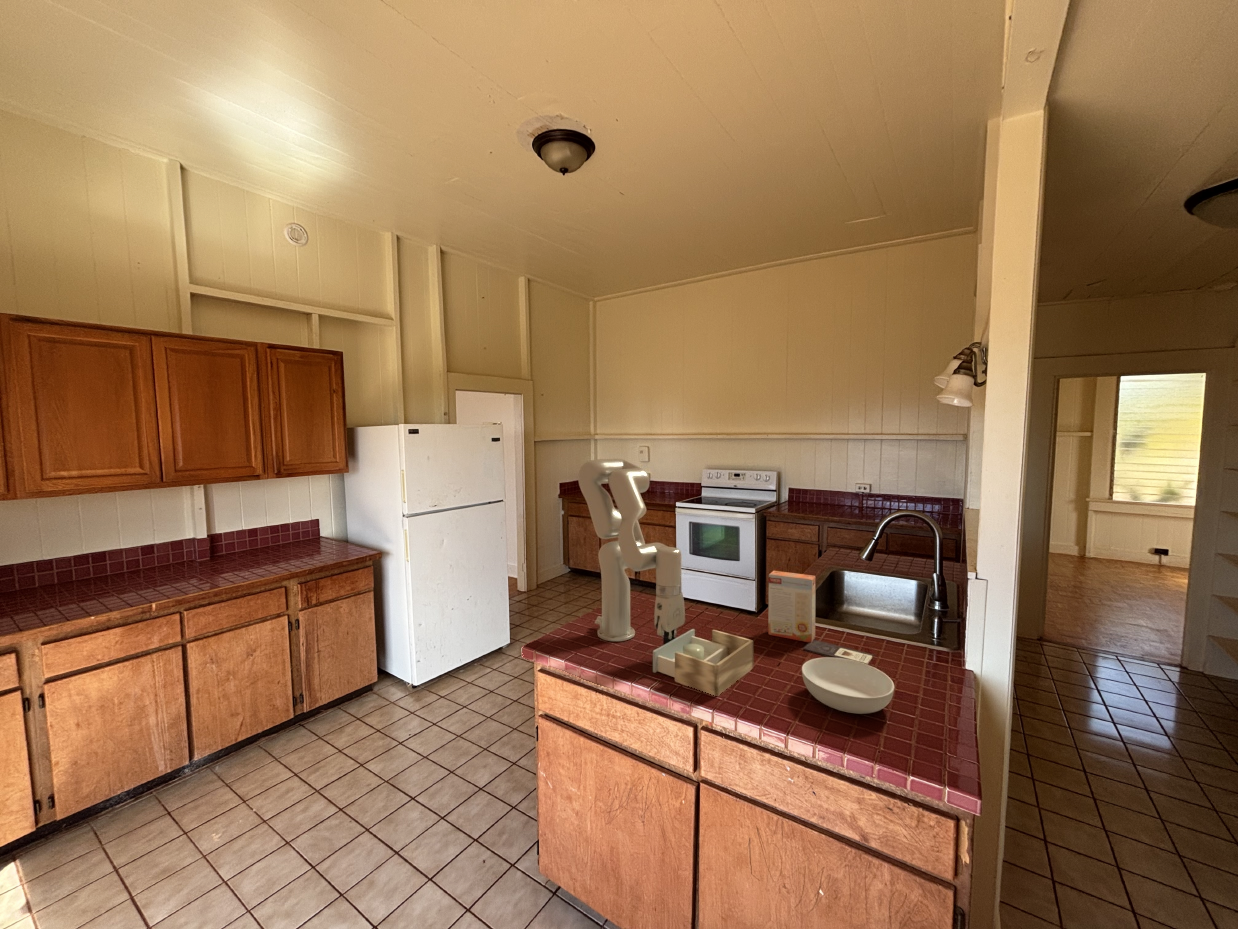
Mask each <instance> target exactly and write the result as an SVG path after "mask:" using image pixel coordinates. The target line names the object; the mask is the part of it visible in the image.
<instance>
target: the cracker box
mask: <svg viewBox="0 0 1238 929" xmlns="http://www.w3.org/2000/svg"><path fill="white" fill-rule="evenodd" d="M767 620H768V628H767V629H768V635H770V636H775V637H779V638H785V639H790V640H794V641H799V642H805V643H809V642H812V641H813V639H814V640H815V638H816V575H812V574H811V575H810V574H802V573H796V572H788V571H787V572H786V571H780V570H772V571H771V572H770V573H768V619H767Z"/></svg>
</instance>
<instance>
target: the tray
mask: <svg viewBox="0 0 1238 929" xmlns="http://www.w3.org/2000/svg"><path fill="white" fill-rule="evenodd" d="M695 633H696V629H695V628H692V629H690V630H688V631H686V632H685V633H683V634H681V635H679V636H676V637H675V639H674V640H672V641H670V642H668V643H666V644H665V645H663V644H662V645H661V646H659V647H657V648H656V649H653V650H652V673H657V672H658V673H661V674H664V675H667V676H670V677H673V678H675V652H679V653H682V654H683V646H684V645H686V644H698V645H701V646H703V647H704V661H707V662H710V663H713V664H717V663H719V662H720V661H722V660H723V659H724V658H726V657H727V656H728V646H725V645H722V644H718V643H715V642H712V640H711V641H710V640H707V639H704V638H701V637H697V636H695V635H696V634H695Z"/></svg>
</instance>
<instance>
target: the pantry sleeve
mask: <svg viewBox="0 0 1238 929" xmlns="http://www.w3.org/2000/svg"><path fill="white" fill-rule="evenodd" d="M711 634H712V635H711V642H715V643H718V644H722V645H725V646H728V656H727V657H726V658H724V659H723V660H722V661H720V662H719V663H717V664H713V663H710V662H707V661H704V660H701V659H698V658H695V657H692V656H689V655H685V654H682V653H679V652H675V677H674V682H675V683H678V684H681V685H683V686H686V687H688V686H689V687H688V688H691V687H692V688H691V689H694V688H695V689H694V690H696V689H697V690H696V691H699V690H700V691H699V692H702V691H703V693H705V692H706V693H705V694H707V693H709V694H708V695H710V694H711V695H710V696H713V695H714V696H713V697H715V696H718V697H719V696H721V695H722V694H723V693H724V692H726V691H727V690H728V689H729V688H730V687H732V686H733V685H734V684H735V683H736V681H737V680H738V681H739V680H740V679H742V678H743V677H744V676H745V675H746V674H748V673H750V671H751V670H752V669H754V640H752V639H749V638H746V637H743V636H738V635H734V634H731V633H727V632H724V631H719V630H717V629H712V630H711ZM738 681H737V682H738ZM731 685H732V686H731ZM727 688H728V689H727ZM726 689H727V690H726ZM722 692H723V693H722ZM721 693H722V694H721ZM720 694H721V695H720Z"/></svg>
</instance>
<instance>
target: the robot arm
mask: <svg viewBox="0 0 1238 929" xmlns="http://www.w3.org/2000/svg"><path fill="white" fill-rule="evenodd" d="M577 475H578V477H577V478H578V480H577V481H578V486H579V488H580V491H581V494H582V495H583V497H584V499H585V501H586V504H587V506H588V511H589V514H590V518H591V521H592V523H593V527H594V528H593V529H594V531H595V533H596V536H597V537H598V538H600V539H603V540H609V539H615V538H618V539H617V540H613V541H610V542H606V543H605V544H603V545H602V546H601V547H600V548H599V551H598V562H599V568H600V574H601V575H600V576H601V616H600V615H599V616H597V617H596V619H595V620H594V624H596V625H599V629H598V630H597V636H598V638H600V639H602V640H604V641H608V642H624V641H627V640H630V639H632V638H634V637H635V634H636V631H635V629H634V628H633V627H632V626H631V582H630V579H629V576H628V575H627V573H626V571H625V570H626V569H628V568H629V569H630V570H632V571H634V572H641V571H646V570H651V569H655V584H656V586H655V589H656V590H655V594H656V595H655V596H656V597H655V603H654V615H653V617H654V618H653V619H654V628H655V629H656V630H657V631H656V635H658V636H661V637H662V640H663V641H662V642H663V643H662V646H663V645H665V644H666V643H668V642H670V641H672V640H674V639H675V638H677V633H678V632H677V630H678V628H679V627H681V626H683V625H684V624H685V622H686V613H685V612H686V610H685V600H684V599H685V598H684V595H683V594H684V593H683V592H682V590H683V589H682V551H681V549H679V548H677V547H672V546H667V545H666V544H664V543H662V542H651V543H646V542H645V538H644V536H643V532H642V530H641V526H640V523H639V520H640V519H642V518H643V517H645V516H644V515H646V513H647V507H646V503H645V502H644V499H643V498H642V495H641V493H642V494H643V493H645V492H647V490H648V489H649V488H650V478H649V476H648V474H647V472H646V471H645V470H644V469H643V468H641V467H640V466H638V465H635V464H634V463H631V462H629V461H627V460H625V459H621V458H600V459H597V458H596V459H591V460H587V461H586V462H584V463H582V465H581V466H580V467H579V470H578V474H577ZM602 484H603V485H604V484H608V486H609V489H610V492H611V494H612V497H613V499H614V502H615V504H616V507H617V508H616V507H615V506H614V502H613V499H612V497H611V494H610V493H609V492H608V491H607V490H606V489H605V488H604V487H603V485H602Z"/></svg>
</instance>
